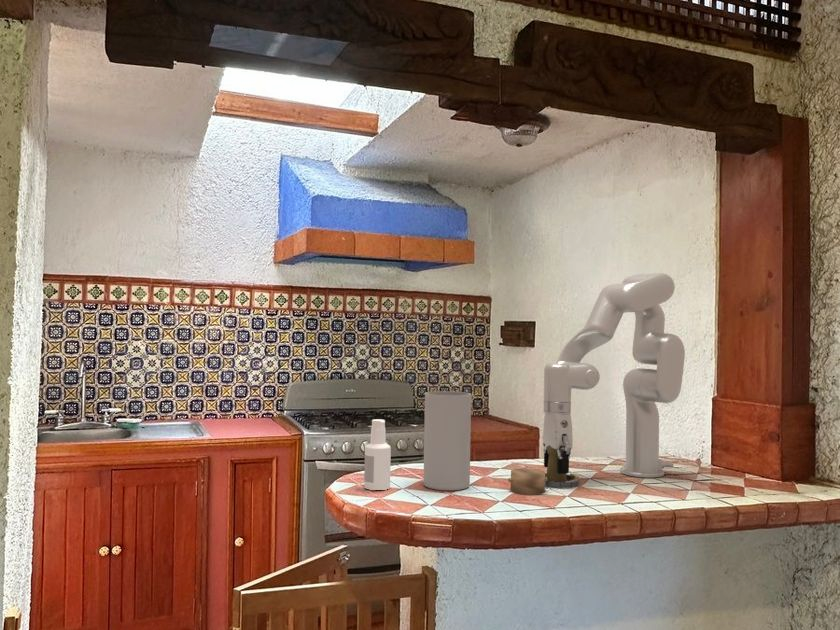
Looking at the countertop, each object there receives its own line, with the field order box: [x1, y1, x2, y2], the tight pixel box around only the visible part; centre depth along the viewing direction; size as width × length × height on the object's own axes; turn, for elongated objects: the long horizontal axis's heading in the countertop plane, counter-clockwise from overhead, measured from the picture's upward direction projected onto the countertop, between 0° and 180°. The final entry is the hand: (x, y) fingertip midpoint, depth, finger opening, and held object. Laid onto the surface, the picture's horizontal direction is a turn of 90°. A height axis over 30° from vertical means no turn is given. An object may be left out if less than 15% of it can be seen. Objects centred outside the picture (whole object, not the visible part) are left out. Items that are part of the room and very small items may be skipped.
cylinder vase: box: [422, 390, 472, 492], centre depth 186 cm, size 12×12×25 cm
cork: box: [545, 445, 567, 481], centre depth 192 cm, size 6×6×11 cm
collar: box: [545, 472, 580, 489], centre depth 192 cm, size 12×12×2 cm
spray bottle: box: [363, 418, 392, 491], centre depth 182 cm, size 7×7×18 cm
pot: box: [507, 467, 547, 496], centre depth 182 cm, size 11×9×5 cm
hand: (556, 469), depth 192 cm, fingers open, 8 cm apart
